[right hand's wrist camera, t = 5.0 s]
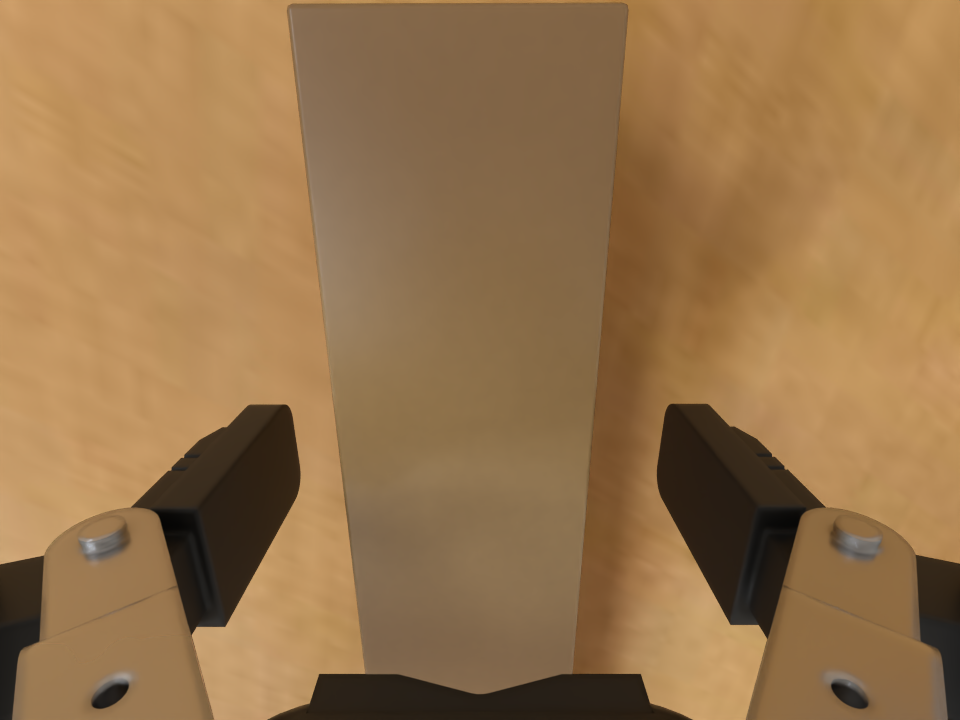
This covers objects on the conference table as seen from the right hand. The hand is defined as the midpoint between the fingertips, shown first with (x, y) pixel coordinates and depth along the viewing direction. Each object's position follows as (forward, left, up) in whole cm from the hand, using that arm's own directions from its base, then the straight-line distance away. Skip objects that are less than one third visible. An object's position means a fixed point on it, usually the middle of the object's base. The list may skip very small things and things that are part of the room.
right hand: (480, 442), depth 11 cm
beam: (+32, -7, -4) cm, 33 cm away
